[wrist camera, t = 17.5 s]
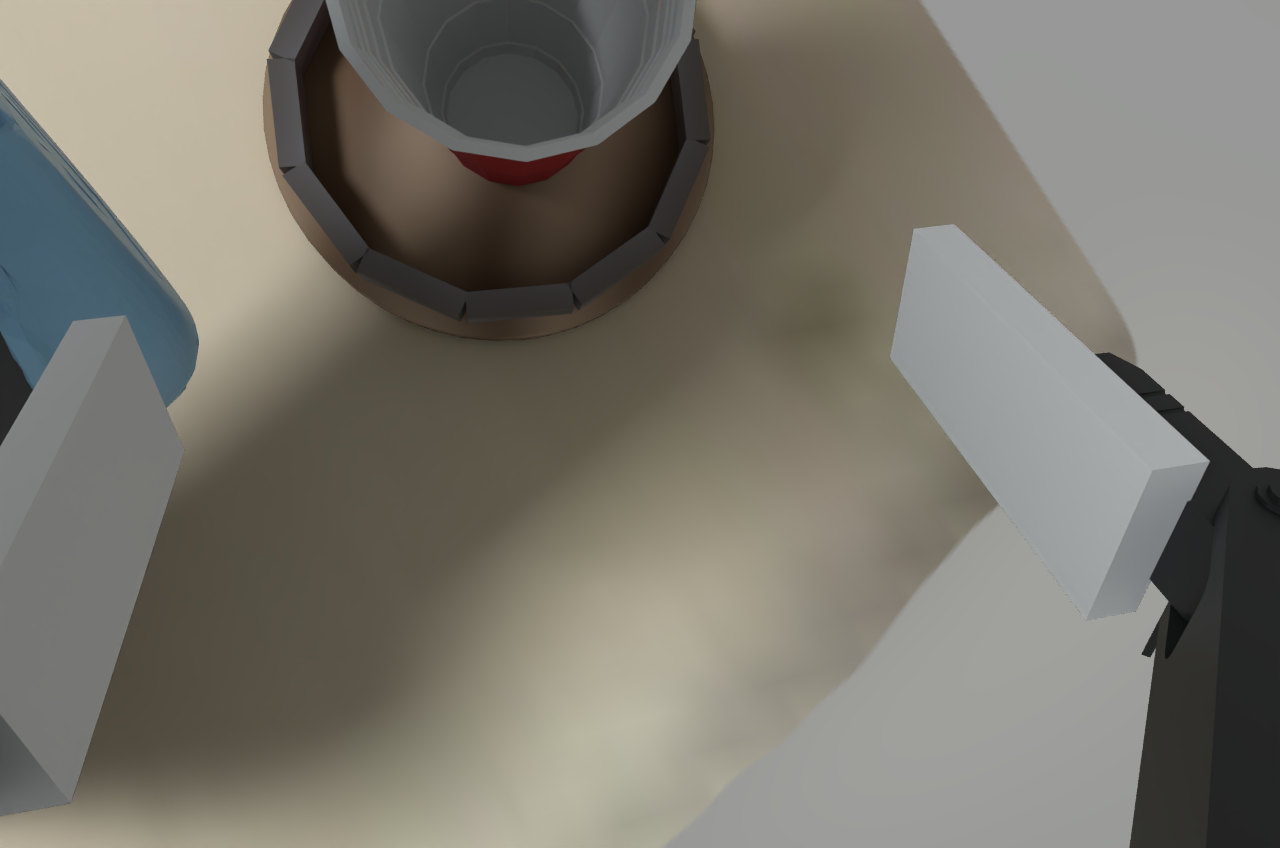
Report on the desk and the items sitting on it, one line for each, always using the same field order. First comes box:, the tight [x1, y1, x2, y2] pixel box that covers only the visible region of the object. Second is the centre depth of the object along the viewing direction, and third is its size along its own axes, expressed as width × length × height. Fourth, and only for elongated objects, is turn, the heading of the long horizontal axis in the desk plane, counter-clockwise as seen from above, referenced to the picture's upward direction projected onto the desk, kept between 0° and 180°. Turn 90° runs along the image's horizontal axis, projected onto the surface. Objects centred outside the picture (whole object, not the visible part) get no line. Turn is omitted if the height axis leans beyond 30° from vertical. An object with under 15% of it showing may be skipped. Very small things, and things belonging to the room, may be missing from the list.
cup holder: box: [263, 0, 714, 340], centre depth 37 cm, size 18×18×3 cm
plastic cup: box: [326, 0, 696, 186], centre depth 31 cm, size 11×11×12 cm
